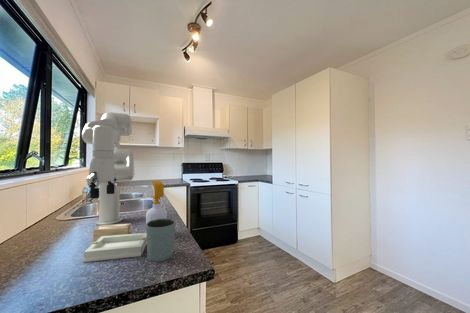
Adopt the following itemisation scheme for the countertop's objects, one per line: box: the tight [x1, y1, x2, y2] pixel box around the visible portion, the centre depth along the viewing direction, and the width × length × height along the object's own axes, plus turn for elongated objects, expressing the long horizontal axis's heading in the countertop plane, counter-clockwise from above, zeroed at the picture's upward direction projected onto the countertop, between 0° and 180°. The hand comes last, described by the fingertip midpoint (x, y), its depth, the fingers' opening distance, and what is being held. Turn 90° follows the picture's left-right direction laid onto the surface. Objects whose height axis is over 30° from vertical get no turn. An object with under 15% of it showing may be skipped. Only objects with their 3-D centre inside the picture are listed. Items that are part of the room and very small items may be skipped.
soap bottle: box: [145, 180, 168, 224], centre depth 91 cm, size 9×9×25 cm
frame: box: [92, 223, 132, 242], centre depth 88 cm, size 6×13×5 cm, turn 104°
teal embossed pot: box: [145, 217, 177, 263], centre depth 71 cm, size 10×10×12 cm
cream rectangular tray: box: [82, 232, 147, 263], centre depth 76 cm, size 15×18×4 cm
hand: (103, 195), depth 83 cm, fingers open, 9 cm apart
